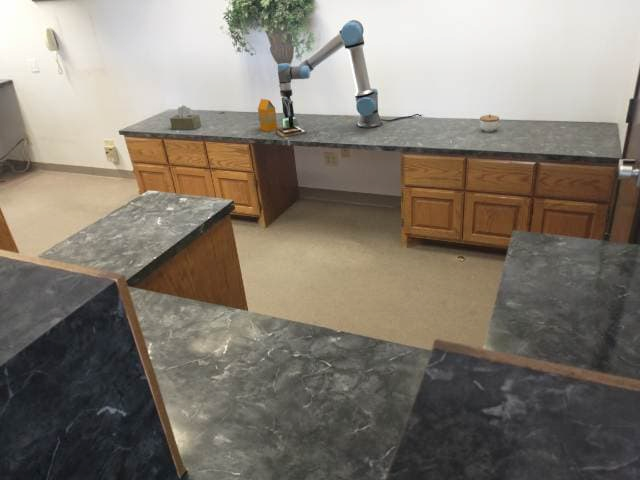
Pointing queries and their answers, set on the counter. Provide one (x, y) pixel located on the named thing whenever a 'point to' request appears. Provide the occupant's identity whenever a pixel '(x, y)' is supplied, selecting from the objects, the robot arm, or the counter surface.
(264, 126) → the orange juice
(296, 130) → the tan flat rectangular frame
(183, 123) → the tissue box
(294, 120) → the pale green block
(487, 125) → the trinket box
